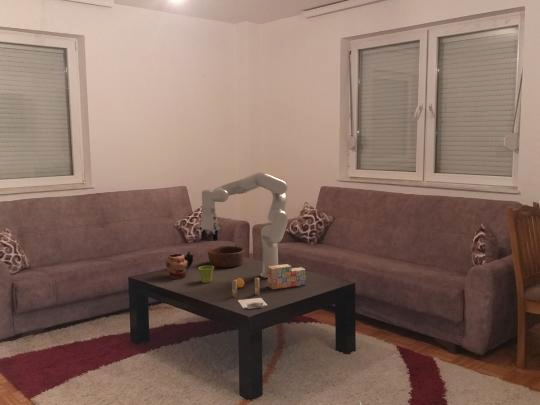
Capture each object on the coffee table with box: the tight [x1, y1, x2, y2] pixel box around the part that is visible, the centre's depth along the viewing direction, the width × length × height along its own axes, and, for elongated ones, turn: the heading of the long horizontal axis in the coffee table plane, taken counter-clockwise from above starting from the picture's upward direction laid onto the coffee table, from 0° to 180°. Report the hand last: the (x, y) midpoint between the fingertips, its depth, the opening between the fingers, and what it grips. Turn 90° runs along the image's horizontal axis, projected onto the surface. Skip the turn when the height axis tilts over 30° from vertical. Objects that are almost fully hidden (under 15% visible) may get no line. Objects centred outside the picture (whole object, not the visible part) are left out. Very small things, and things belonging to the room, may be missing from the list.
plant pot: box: [198, 265, 215, 284], centre depth 332 cm, size 9×9×9 cm
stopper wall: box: [246, 302, 264, 310], centre depth 282 cm, size 8×2×2 cm, turn 106°
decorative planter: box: [165, 253, 188, 279], centre depth 344 cm, size 20×12×14 cm, turn 40°
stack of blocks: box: [267, 263, 307, 290], centre depth 320 cm, size 21×6×12 cm, turn 112°
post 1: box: [231, 279, 238, 298], centre depth 301 cm, size 3×3×9 cm
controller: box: [183, 251, 194, 269], centre depth 366 cm, size 4×12×10 cm, turn 133°
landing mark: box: [237, 297, 268, 309], centre depth 290 cm, size 13×13×1 cm
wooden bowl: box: [207, 245, 246, 269], centre depth 373 cm, size 25×25×10 cm
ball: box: [235, 277, 245, 289], centre depth 318 cm, size 6×6×6 cm
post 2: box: [254, 277, 261, 296], centre depth 304 cm, size 3×3×9 cm
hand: (209, 239), depth 326 cm, fingers open, 9 cm apart
